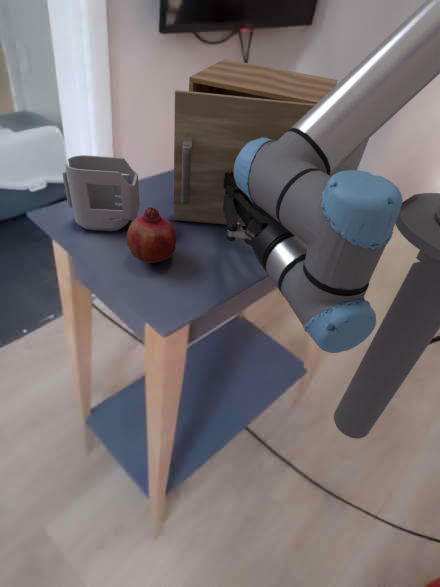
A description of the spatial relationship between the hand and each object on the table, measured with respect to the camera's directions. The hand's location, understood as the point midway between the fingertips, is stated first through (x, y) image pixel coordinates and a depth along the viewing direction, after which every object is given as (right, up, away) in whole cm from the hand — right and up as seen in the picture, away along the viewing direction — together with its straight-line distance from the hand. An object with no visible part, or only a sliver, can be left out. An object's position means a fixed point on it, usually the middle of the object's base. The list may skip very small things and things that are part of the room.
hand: (229, 179), depth 70 cm
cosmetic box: (+26, +5, +24) cm, 36 cm away
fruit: (-13, -15, -3) cm, 20 cm away
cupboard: (+5, +2, +17) cm, 18 cm away
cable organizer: (-22, -8, +4) cm, 24 cm away
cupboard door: (+1, -8, +5) cm, 10 cm away
